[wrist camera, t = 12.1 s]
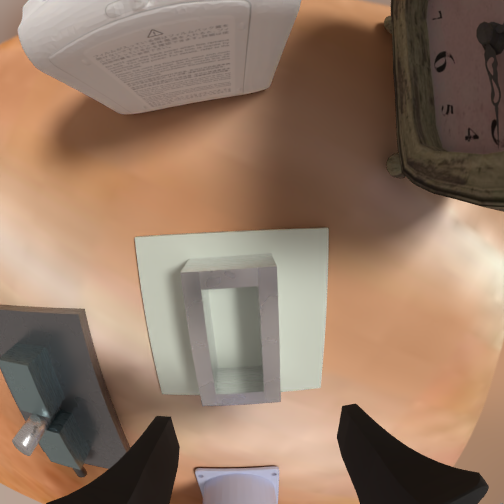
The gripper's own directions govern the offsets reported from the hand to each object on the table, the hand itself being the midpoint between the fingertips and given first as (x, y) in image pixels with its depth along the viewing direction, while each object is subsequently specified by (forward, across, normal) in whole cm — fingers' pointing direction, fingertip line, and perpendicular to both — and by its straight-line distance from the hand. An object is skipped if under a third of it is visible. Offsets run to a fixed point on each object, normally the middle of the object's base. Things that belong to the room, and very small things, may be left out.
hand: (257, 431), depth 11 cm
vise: (+9, +18, +7) cm, 21 cm away
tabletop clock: (+10, -13, -16) cm, 23 cm away
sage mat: (+9, +1, -1) cm, 9 cm away
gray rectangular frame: (+9, +1, -1) cm, 9 cm away
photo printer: (+10, +3, -17) cm, 20 cm away
